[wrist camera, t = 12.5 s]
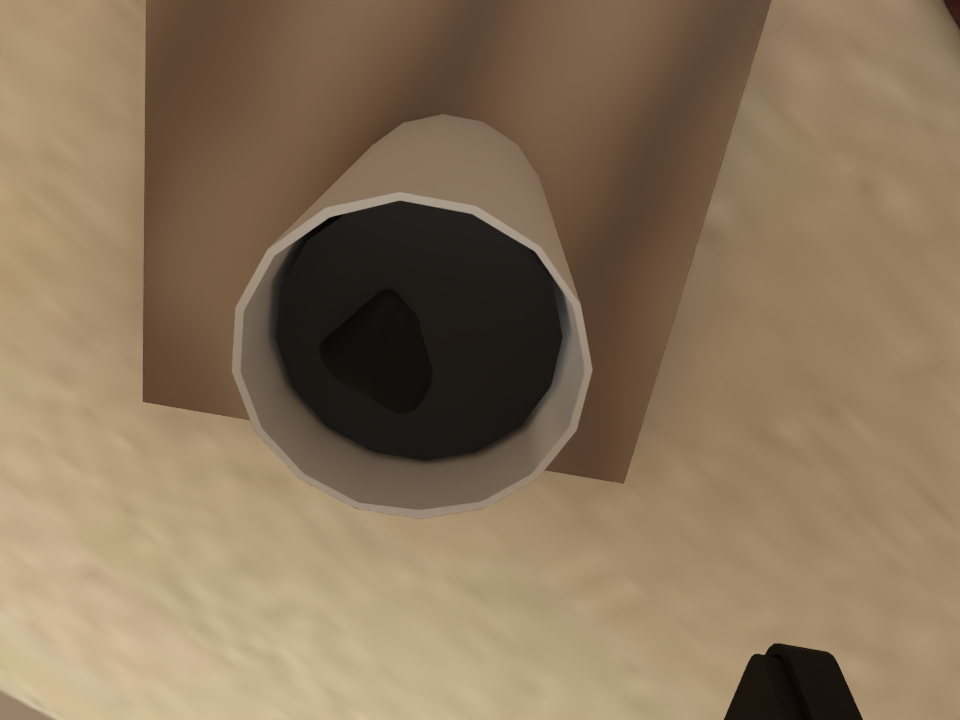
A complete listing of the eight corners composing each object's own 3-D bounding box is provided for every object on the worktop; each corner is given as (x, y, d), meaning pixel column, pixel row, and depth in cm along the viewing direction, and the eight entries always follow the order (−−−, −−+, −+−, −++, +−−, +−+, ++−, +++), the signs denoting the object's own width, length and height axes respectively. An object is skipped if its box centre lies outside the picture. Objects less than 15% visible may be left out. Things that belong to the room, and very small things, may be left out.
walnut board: (766, -38, 23) (782, -36, 22) (618, 459, 30) (623, 483, 29) (169, -159, 22) (147, -166, 21) (159, 380, 29) (142, 401, 28)
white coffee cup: (451, 362, 27) (423, 573, 18) (284, 218, 25) (158, 371, 16) (610, 214, 25) (668, 369, 16) (440, 44, 23) (395, 106, 14)
